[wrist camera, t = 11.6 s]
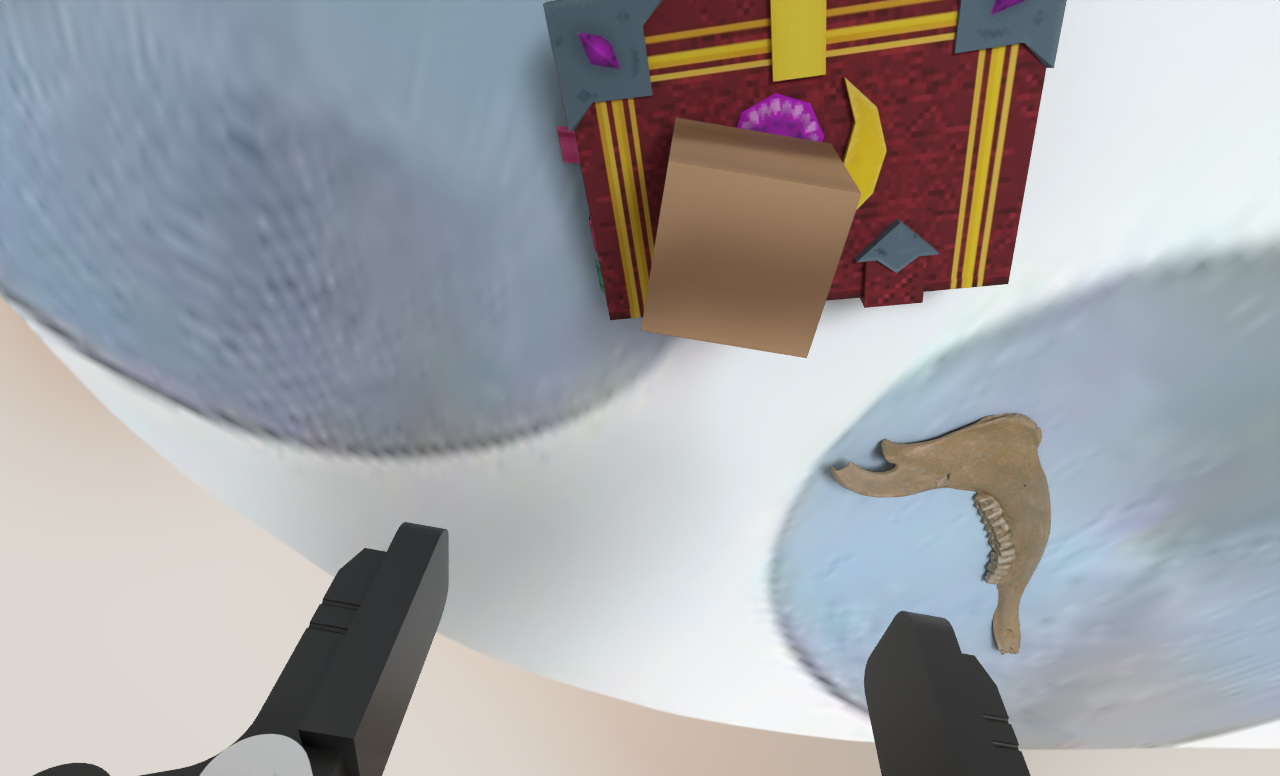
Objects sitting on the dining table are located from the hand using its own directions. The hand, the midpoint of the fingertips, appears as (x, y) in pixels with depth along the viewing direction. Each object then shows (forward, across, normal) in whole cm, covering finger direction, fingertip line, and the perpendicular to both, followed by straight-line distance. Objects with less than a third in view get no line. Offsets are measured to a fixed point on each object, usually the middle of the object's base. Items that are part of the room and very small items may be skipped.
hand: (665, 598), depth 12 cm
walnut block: (+15, -1, -2) cm, 15 cm away
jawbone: (+20, -18, +17) cm, 31 cm away
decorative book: (+20, -2, -4) cm, 20 cm away
